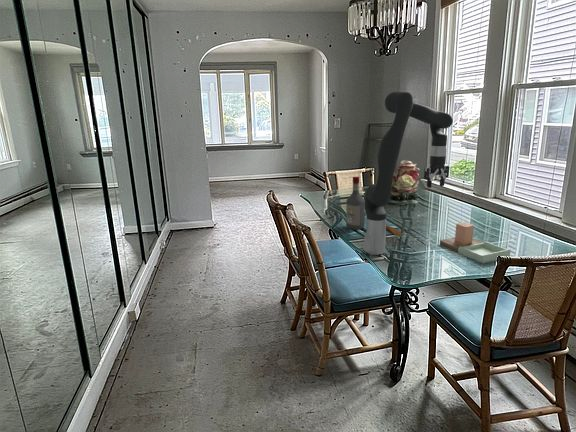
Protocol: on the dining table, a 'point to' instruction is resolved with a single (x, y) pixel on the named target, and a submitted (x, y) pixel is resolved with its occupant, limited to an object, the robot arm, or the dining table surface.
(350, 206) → the liquor
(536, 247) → the dining table surface
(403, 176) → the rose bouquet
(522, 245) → the dining table surface
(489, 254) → the tray
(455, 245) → the board
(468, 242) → the salmon-coloured block
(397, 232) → the primitive tool
